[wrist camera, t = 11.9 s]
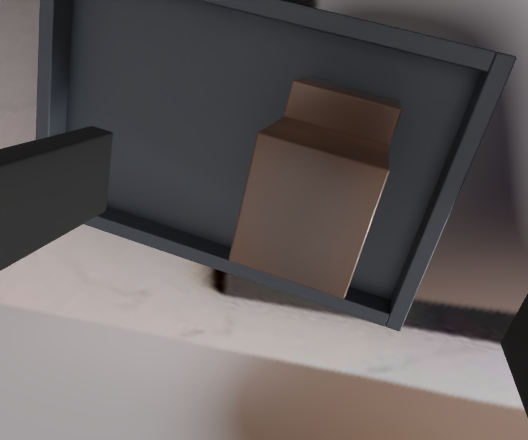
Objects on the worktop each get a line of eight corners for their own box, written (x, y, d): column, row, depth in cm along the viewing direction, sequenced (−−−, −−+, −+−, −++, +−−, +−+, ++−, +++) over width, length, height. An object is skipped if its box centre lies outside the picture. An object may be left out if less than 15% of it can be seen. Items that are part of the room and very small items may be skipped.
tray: (59, 196, 28) (33, 207, 26) (72, -48, 23) (41, -58, 21) (399, 309, 25) (400, 332, 23) (504, 56, 20) (517, 56, 18)
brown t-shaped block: (268, 225, 25) (220, 294, 17) (306, 75, 21) (267, 85, 14) (348, 251, 24) (332, 334, 17) (400, 100, 21) (407, 123, 14)
